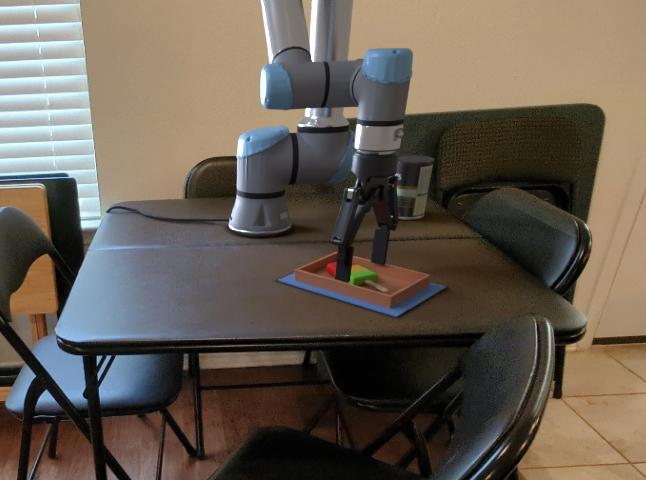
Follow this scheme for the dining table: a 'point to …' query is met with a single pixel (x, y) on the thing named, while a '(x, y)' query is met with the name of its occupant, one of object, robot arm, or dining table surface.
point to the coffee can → (413, 185)
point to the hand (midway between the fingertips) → (360, 271)
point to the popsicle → (358, 276)
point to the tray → (389, 277)
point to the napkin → (393, 311)
